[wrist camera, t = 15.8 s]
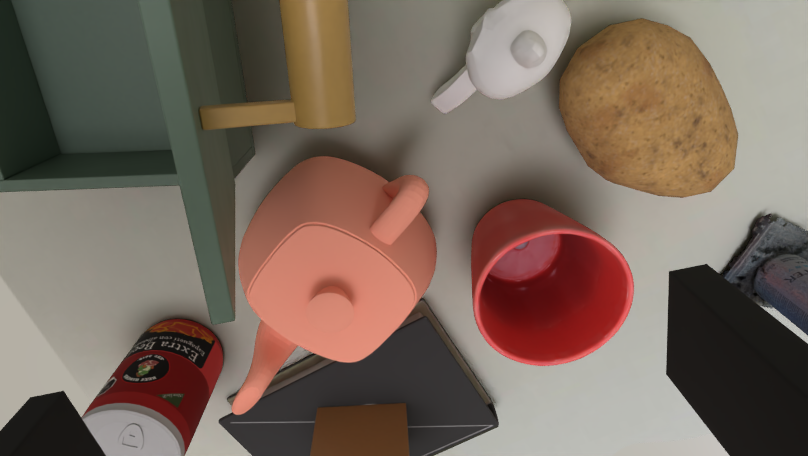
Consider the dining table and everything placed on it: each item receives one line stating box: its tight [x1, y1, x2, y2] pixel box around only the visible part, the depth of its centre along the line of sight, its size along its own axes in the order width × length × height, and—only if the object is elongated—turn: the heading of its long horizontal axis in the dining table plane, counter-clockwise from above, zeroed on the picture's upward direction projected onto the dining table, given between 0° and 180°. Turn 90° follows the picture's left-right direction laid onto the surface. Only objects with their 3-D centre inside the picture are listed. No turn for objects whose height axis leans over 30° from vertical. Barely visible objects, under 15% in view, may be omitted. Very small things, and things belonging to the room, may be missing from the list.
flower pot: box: [471, 199, 634, 366], centre depth 37 cm, size 11×11×10 cm
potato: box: [559, 18, 738, 198], centre depth 33 cm, size 10×14×8 cm
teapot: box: [232, 156, 437, 415], centre depth 35 cm, size 13×20×12 cm, turn 141°
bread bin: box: [0, 0, 255, 192], centre depth 30 cm, size 15×18×7 cm
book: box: [219, 299, 499, 456], centre depth 46 cm, size 22×15×3 cm
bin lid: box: [137, 0, 356, 325], centre depth 21 cm, size 15×18×6 cm
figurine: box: [431, 0, 571, 114], centre depth 29 cm, size 12×5×11 cm, turn 139°
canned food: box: [81, 319, 223, 456], centre depth 39 cm, size 8×8×11 cm
